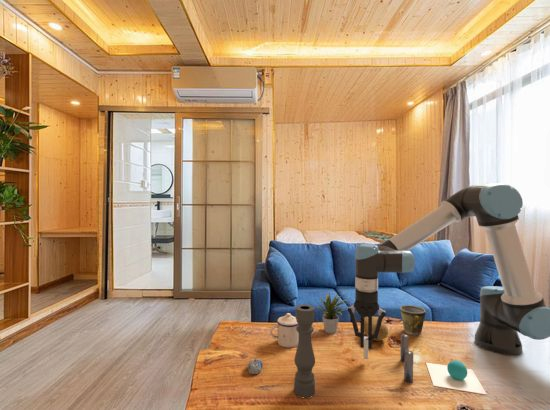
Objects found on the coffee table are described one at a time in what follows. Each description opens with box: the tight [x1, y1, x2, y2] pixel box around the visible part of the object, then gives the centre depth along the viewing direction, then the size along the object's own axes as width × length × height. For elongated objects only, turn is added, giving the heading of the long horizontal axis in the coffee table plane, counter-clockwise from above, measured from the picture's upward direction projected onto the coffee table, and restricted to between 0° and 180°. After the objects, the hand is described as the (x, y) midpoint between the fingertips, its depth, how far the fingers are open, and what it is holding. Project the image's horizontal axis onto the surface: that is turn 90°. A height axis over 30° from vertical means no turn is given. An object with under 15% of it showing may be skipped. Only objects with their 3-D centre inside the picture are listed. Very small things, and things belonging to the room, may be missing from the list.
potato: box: [364, 315, 389, 342], centre depth 126 cm, size 10×14×8 cm
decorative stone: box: [247, 358, 264, 375], centre depth 102 cm, size 6×4×5 cm
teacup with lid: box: [269, 312, 299, 349], centre depth 121 cm, size 12×9×12 cm
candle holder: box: [293, 303, 316, 399], centre depth 90 cm, size 6×6×25 cm
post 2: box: [403, 350, 414, 384], centre depth 96 cm, size 3×3×9 cm
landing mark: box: [425, 362, 488, 396], centre depth 98 cm, size 14×14×1 cm
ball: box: [446, 360, 468, 380], centre depth 97 cm, size 6×6×6 cm
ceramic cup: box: [400, 304, 426, 336], centre depth 131 cm, size 13×10×10 cm
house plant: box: [316, 293, 348, 334], centre depth 132 cm, size 14×14×16 cm
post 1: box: [400, 333, 410, 363], centre depth 108 cm, size 3×3×9 cm
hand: (365, 356), depth 106 cm, fingers closed
